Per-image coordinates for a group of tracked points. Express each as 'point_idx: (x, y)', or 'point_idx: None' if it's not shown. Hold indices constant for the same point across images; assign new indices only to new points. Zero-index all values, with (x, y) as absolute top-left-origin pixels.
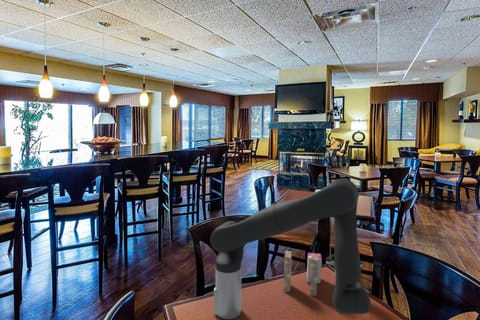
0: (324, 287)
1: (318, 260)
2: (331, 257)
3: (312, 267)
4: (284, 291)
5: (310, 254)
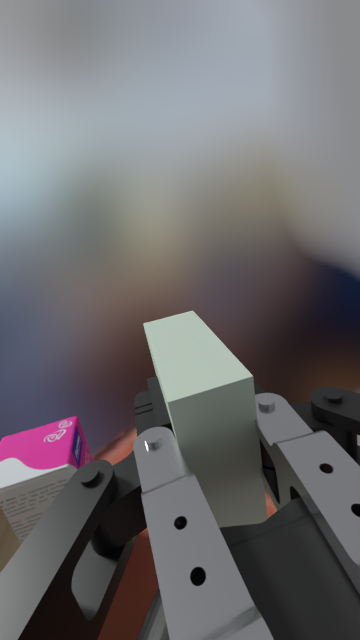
0: (139, 615)
1: (49, 482)
2: (26, 622)
3: None
4: None
5: (8, 448)
